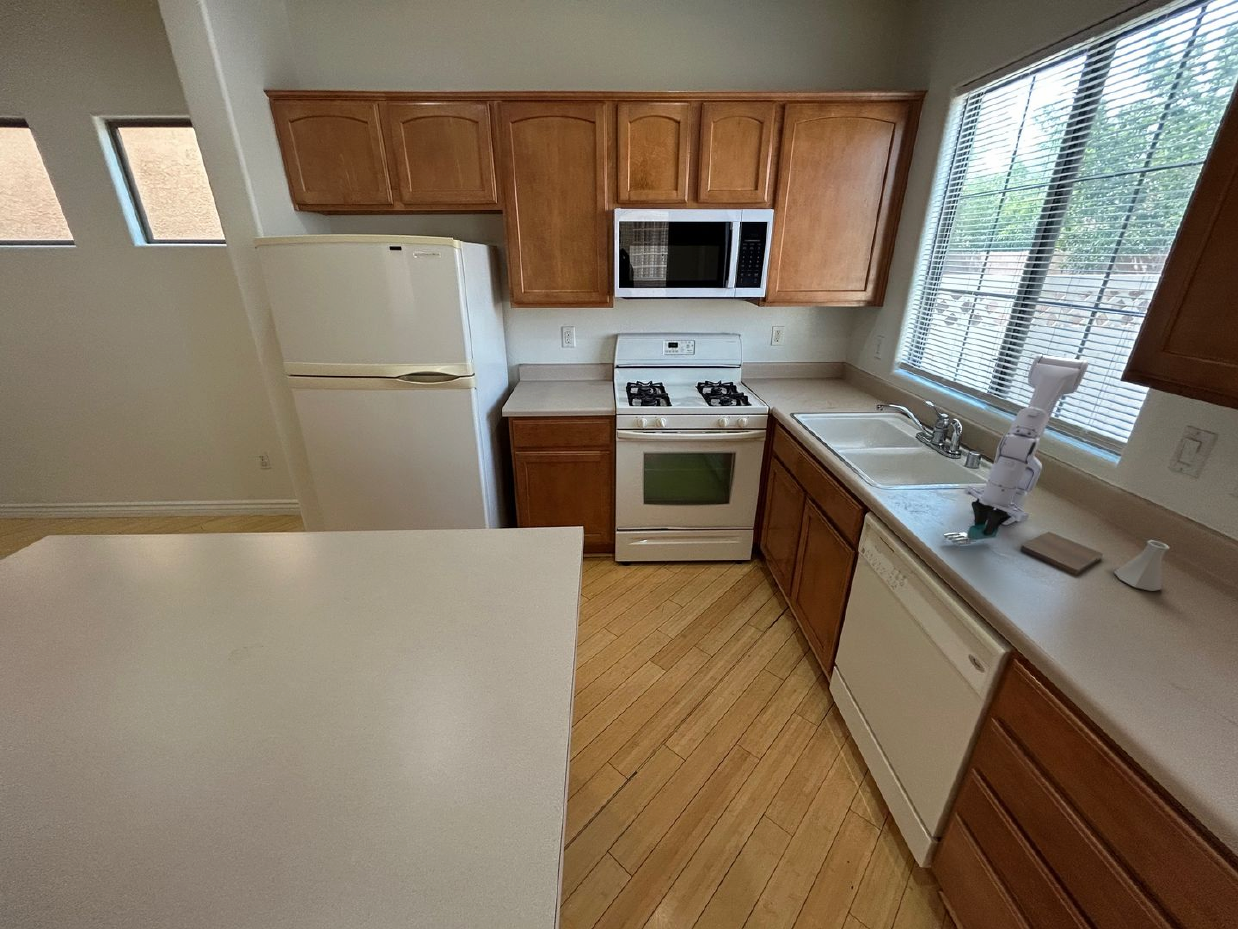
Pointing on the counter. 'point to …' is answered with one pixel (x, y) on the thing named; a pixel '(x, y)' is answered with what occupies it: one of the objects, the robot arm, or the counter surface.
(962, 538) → the fork
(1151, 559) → the flask
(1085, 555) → the cutting board
